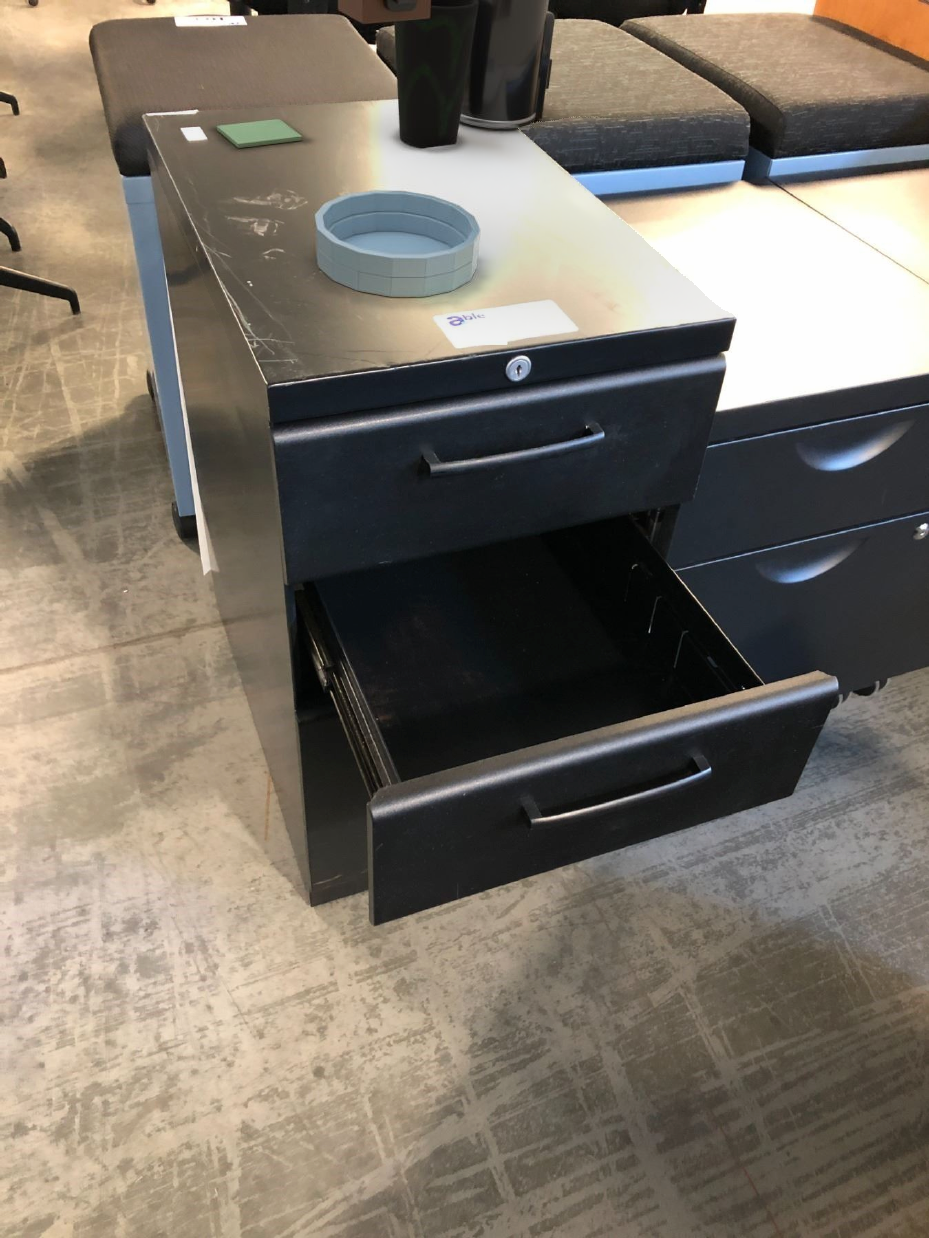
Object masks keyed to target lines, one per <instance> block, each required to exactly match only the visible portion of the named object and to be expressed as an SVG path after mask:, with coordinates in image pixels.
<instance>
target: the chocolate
mask: <svg viewBox="0 0 929 1238" xmlns="http://www.w3.org/2000/svg"><path fill="white" fill-rule="evenodd" d="M430 7H431V0H417V5H416V7H415V9H414V10H412V11H404V12H391V11H390V10H388V9H386V8H385V7H384V4H383V0H337V10H338V11H339V12H341V13H342V14H344V15H346V16H347V17H350V18H352V19H353V20H355V21H356V22H359V23H360V24H362V25H366V24H379V23H389V22H390V23H391V22H394V21H403V20H415V19H426V18H430Z"/></svg>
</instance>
